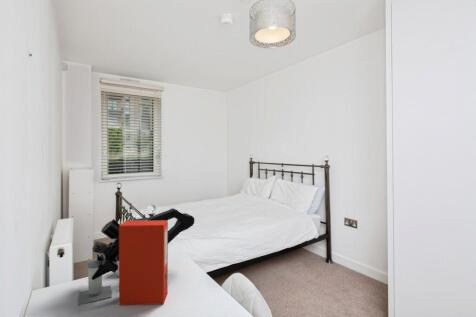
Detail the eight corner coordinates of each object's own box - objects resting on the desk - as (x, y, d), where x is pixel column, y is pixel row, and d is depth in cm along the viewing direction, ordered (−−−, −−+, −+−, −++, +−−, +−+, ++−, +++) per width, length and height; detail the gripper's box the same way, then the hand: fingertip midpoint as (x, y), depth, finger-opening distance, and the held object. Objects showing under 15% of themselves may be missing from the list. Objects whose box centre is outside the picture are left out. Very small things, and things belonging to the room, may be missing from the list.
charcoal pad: (110, 286, 116) (110, 285, 116) (111, 297, 107) (111, 296, 107) (79, 293, 110) (79, 291, 110) (77, 305, 101) (77, 304, 101)
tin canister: (99, 286, 112) (99, 259, 112) (104, 290, 109) (103, 262, 108) (86, 291, 108) (86, 263, 108) (90, 295, 105) (90, 267, 104)
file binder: (126, 294, 110) (126, 220, 108) (167, 293, 111) (167, 220, 110) (119, 305, 102) (118, 226, 100) (163, 304, 103) (163, 225, 102)
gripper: (101, 229, 118) (73, 258, 111) (109, 241, 102) (76, 276, 96) (120, 242, 122) (94, 271, 116) (130, 255, 107) (100, 290, 101)
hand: (91, 276), depth 107 cm, fingers closed on tin canister, 5 cm apart
